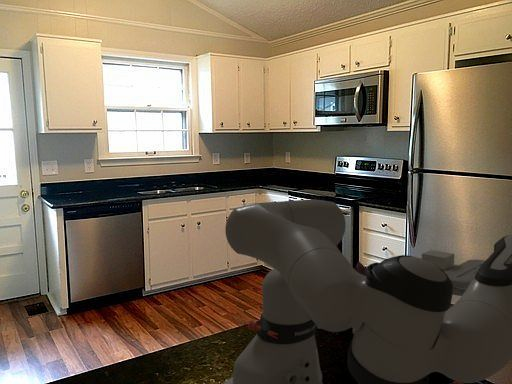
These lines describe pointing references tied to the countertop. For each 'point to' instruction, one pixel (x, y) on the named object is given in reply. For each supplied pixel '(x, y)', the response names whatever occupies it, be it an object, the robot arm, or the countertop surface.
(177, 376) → the countertop surface
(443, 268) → the tall grey upright block
